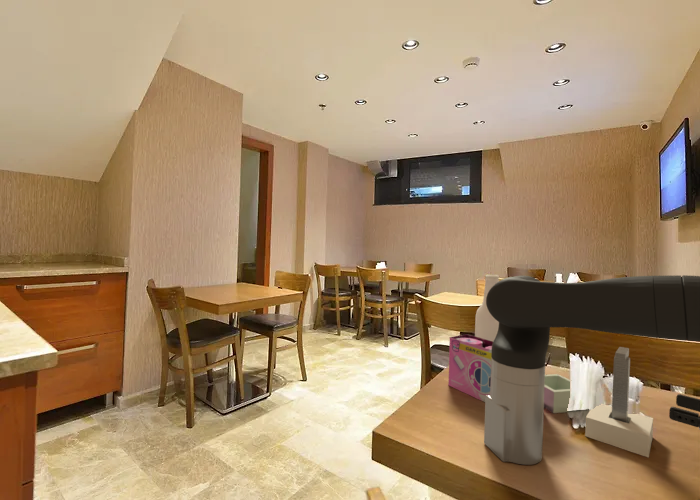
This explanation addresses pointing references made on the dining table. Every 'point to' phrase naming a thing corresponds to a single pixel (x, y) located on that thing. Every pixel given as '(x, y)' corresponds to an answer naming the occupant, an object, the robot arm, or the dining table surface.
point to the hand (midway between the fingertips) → (673, 405)
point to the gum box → (470, 365)
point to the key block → (620, 430)
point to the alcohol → (486, 314)
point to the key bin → (556, 393)
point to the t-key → (621, 385)
